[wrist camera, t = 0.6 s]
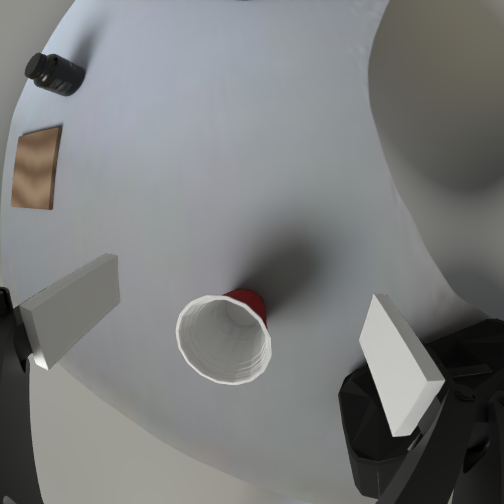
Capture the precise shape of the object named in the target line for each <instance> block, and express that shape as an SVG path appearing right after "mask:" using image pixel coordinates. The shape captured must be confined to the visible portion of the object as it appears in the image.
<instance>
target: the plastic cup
mask: <svg viewBox="0 0 504 504" xmlns="http://www.w3.org/2000/svg"><path fill="white" fill-rule="evenodd" d="M176 336H177V342H178V347H179V349H180V351H181V353H182V354H183V356H184V358H185V360H186V361H187V363H188V364H189V365H190V366H191V367H192V368H194V369H195V370H196V371H197V372H198V373H199V374H200V375H202V376H204V377H206V378H208V379H210V380H212V381H214V382H216V383H222V384H230V385H238V384H242V383H246V382H250V381H252V380H254V379H255V378H256V377H258V376H259V375H260V374H261V373H263V372H264V371H265V369H266V367H267V364H268V362H269V360H270V358H271V337H270V334H269V332H268V330H267V322H266V310H265V305H264V302H263V300H262V298H261V297H260V296H259V295H258V294H257V293H255V292H254V291H251V290H248V289H237V290H235V291H231V292H229V293H226V294H224V295H221V296H217V295H206V296H203V297H201V298H199V299H196V300H194V301H191V302H190V303H189V304H188V305H187V306H186V307H185V308H184V310H183V311H182V312H181V313H180V314H179V318H178V322H177V326H176Z"/></svg>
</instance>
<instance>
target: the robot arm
mask: <svg viewBox="0 0 504 504" xmlns="http://www.w3.org/2000/svg"><path fill="white" fill-rule="evenodd" d="M119 303H120V292H119V277H118V255H113V254H107V253H106V254H104V255H102V256H100V257H98V258H97V259H95V260H93V261H91V262H90V263H88V264H86V265H84V266H83V267H81V268H79V269H77V270H76V271H74V272H72V273H71V274H69V275H67V276H66V277H64V278H62V279H61V280H59V281H57V282H56V283H54V284H52V285H51V286H49V287H47V288H45V289H44V290H42V291H40V292H39V293H38V294H36V295H34V296H32V297H31V298H29V299H28V300H26V301H25V302H23V303H21V304H20V305H18V306H17V307H15V308H14V309H13V305H12V301H11V297H10V292H9V290H8V289H7V288H5V287H0V504H44V503H43V500H42V497H41V493H40V488H39V484H38V478H37V473H36V467H35V461H34V454H33V446H32V437H31V425H30V405H29V373H30V363H29V359H28V356H29V355H30V354H31V353H33V356H34V359H35V362H36V364H37V365H39V366H41V367H43V368H45V369H47V370H49V369H50V368H51V367H52V366H53V365H54V364H55V363H56V362H57V361H59V360H60V359H61V358H62V357H63V356H64V355H65V354H66V353H67V352H68V351H69V350H70V349H71V348H72V347H73V346H74V345H75V344H76V343H77V342H78V341H79V340H80V339H81V338H82V337H83V336H84V335H85V334H86V333H87V332H88V331H90V330H91V329H92V328H93V327H94V326H95V325H96V324H97V323H98V322H99V321H100V320H101V319H102V318H103V317H105V316H106V315H107V314H108V313H109V312H110V311H111V310H112V309H113V308H114V307H115V306H117V305H118V304H119ZM359 342H360V344H361V347H362V350H363V352H364V355H365V358H366V360H367V363H368V366H369V368H370V371H371V374H372V376H373V379H374V382H375V385H376V388H377V391H378V393H379V396H380V399H381V402H382V405H383V408H384V411H385V414H386V417H387V420H388V423H389V426H390V429H391V433H392V436H393V437H397V436H407V435H411V433H412V432H413V430H414V429H415V428H416V426H417V425H418V426H419V429H420V431H421V432H420V434H419V435H418V436H417V438H416V439H415V440H414V441H413V443H412V444H411V445H410V447H409V448H408V449H407V450H409V452H408V454H407V456H406V458H405V459H404V461H403V463H402V464H401V466H400V468H399V469H398V471H397V473H396V474H395V476H394V477H393V479H392V480H391V482H390V483H389V485H388V487H387V488H386V489H385V491H384V492H383V494H382V495H381V497H380V498H379V499H378V501H377V502H376V504H447V503H448V501H449V498H450V496H451V494H452V491H453V489H454V492H453V499H452V504H504V391H503V390H498V391H495V393H494V394H493V396H492V397H491V399H490V400H482V399H478V397H477V395H476V393H475V392H474V391H473V390H472V389H471V388H469V387H467V386H465V385H462V384H456V383H455V382H454V380H453V379H452V377H451V375H450V374H449V372H448V371H447V369H446V368H445V366H443V363H442V362H441V360H439V357H438V356H437V355H436V353H435V352H434V351H433V350H432V349H431V348H430V347H428V346H427V345H426V344H422V343H421V342H420V340H419V339H418V337H417V336H416V335H415V333H414V332H413V330H412V329H411V327H410V326H409V324H408V323H407V322H406V320H405V319H404V317H403V316H402V315H401V313H400V312H399V310H398V309H397V308H396V306H395V305H394V304H393V302H392V301H391V300H390V298H389V297H388V296H387V295H382V294H373V298H372V301H371V304H370V308H369V311H368V314H367V317H366V321H365V324H364V327H363V330H362V333H361V336H360V339H359ZM489 444H490V445H489ZM488 445H489V448H488Z"/></svg>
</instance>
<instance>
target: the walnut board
mask: <svg viewBox="0 0 504 504" xmlns="http://www.w3.org/2000/svg"><path fill="white" fill-rule="evenodd" d="M61 132H62V128H60V127H57V128H52V129H48V130H43V131H39V132H35V133H31V134H27V135H24V136H20V137H19V139H18V145H17V151H16V158H15V166H14V174H13V185H12V199H11V207H21V208H34V209H46V210H52V209H53V193H54V182H55V172H56V164H57V156H58V150H59V143H60V137H61Z"/></svg>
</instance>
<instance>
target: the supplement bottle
mask: <svg viewBox="0 0 504 504" xmlns="http://www.w3.org/2000/svg"><path fill="white" fill-rule="evenodd" d="M25 76H26V77H28V78H30V79H32V80H33V81H34V84H35V85H36V86H37V87H40V88H43V89H45V90H48V91H51V92H54V93H56V94H59V95H62V96H70V95H72V94H73V93H74V92H75V91H76V90H77V89H78V88H79V87H80V85H81V83H82V81H83V78H84V70H83V68H82V67H80V66H78V65H76V64H75V63H73V62H71V61H69V60H67V59H65V58H63V57H61V56H59V55H56V54H50V55H47V56H46V55H44V54H41V53H37V54H35V55H34V56H33V57H32V58H31V59H30V61H29V62H28V64H27V66H26V69H25Z"/></svg>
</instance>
